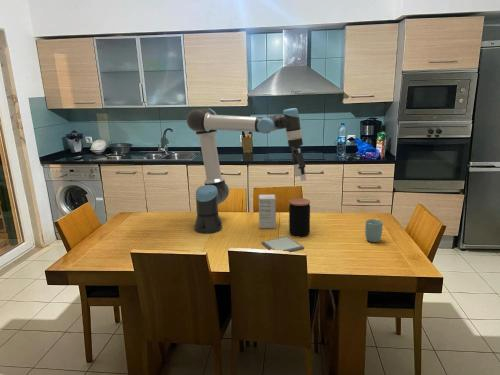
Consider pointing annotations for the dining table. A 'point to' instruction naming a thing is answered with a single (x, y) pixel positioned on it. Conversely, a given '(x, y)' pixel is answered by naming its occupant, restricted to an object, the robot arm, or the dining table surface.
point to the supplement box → (267, 211)
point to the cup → (373, 230)
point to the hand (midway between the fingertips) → (300, 178)
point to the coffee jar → (299, 217)
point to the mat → (282, 244)
